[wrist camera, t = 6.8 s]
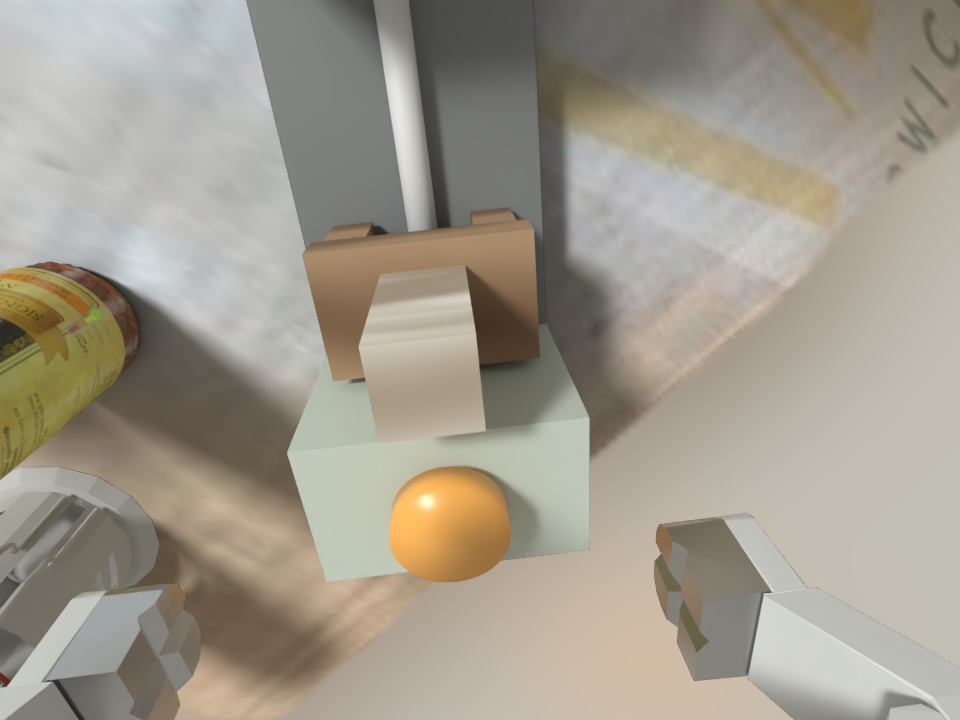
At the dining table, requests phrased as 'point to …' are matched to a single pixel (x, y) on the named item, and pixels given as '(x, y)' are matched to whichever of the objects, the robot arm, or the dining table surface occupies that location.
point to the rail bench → (414, 207)
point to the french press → (62, 551)
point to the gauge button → (449, 524)
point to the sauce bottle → (56, 351)
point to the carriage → (426, 316)
